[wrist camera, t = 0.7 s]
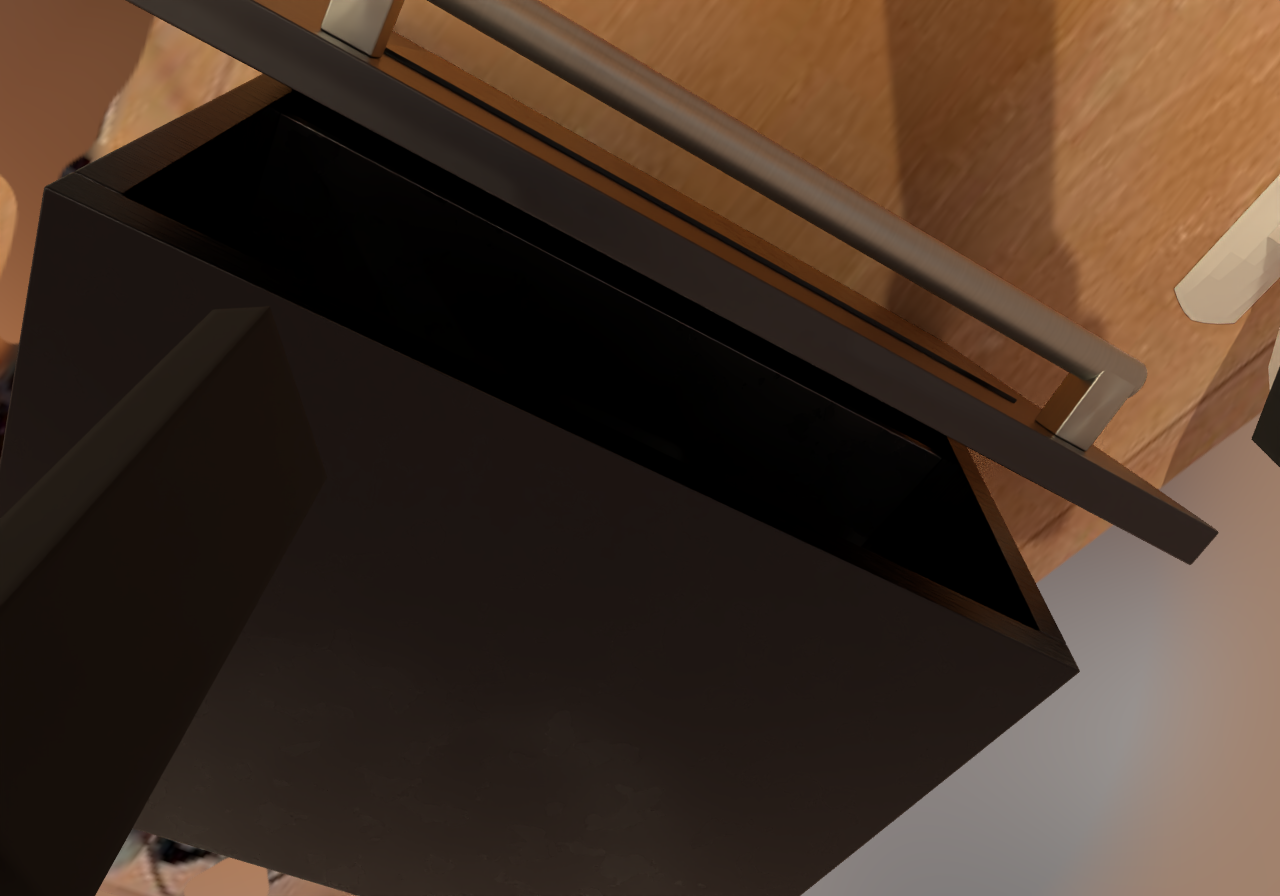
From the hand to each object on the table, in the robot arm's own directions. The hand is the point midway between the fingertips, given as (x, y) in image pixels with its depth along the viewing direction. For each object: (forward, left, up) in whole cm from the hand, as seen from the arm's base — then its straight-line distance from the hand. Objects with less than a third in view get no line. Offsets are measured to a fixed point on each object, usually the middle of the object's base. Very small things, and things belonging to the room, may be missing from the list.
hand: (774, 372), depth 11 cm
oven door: (+8, +4, -41) cm, 42 cm away
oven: (+27, +4, -40) cm, 49 cm away
